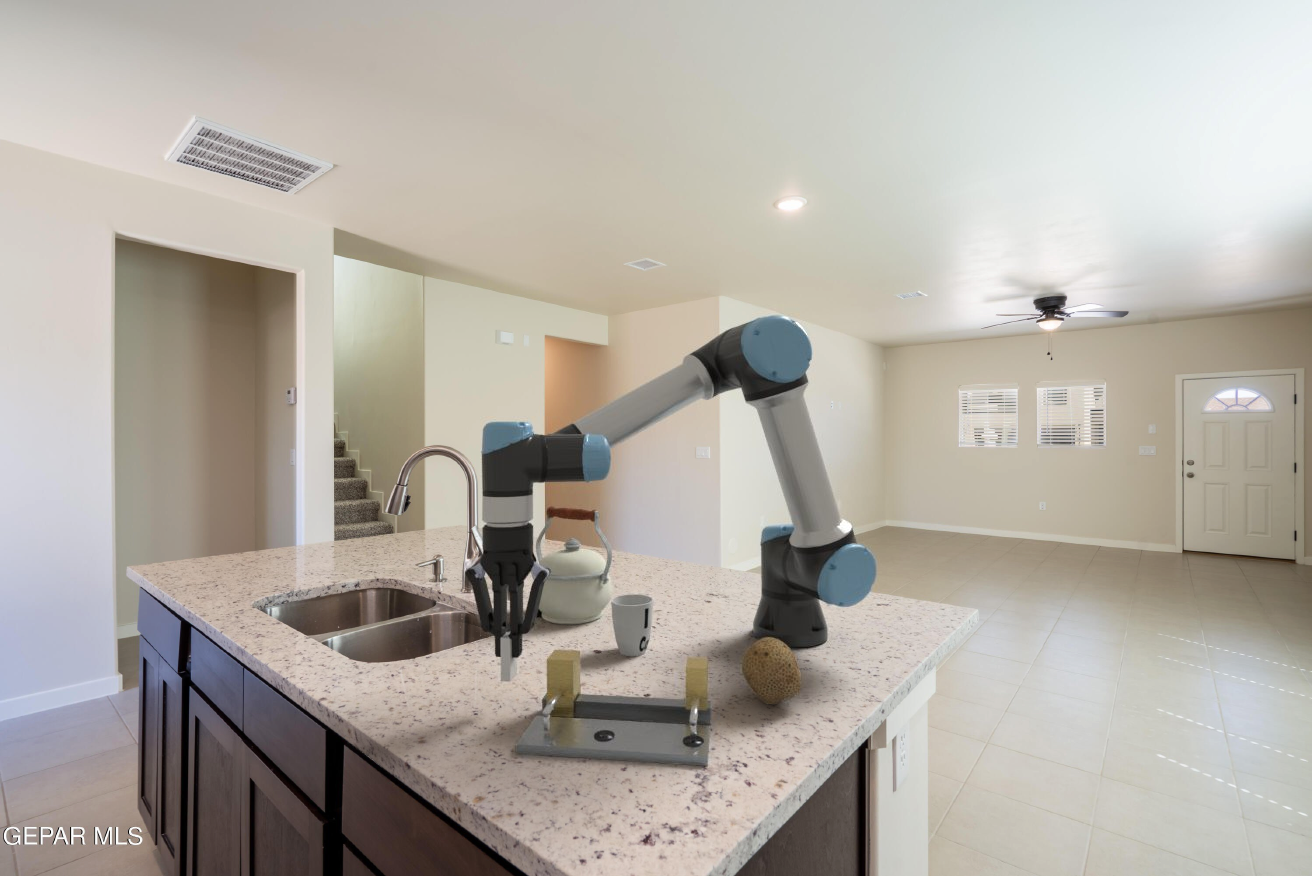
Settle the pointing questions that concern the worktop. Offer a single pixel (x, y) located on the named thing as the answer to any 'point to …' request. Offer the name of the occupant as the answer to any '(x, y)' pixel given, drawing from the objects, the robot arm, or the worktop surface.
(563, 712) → the block
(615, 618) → the cup
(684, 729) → the bolt plate
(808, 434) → the robot arm
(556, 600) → the kettle
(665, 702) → the rail
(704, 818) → the worktop surface
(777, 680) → the natural sponge
